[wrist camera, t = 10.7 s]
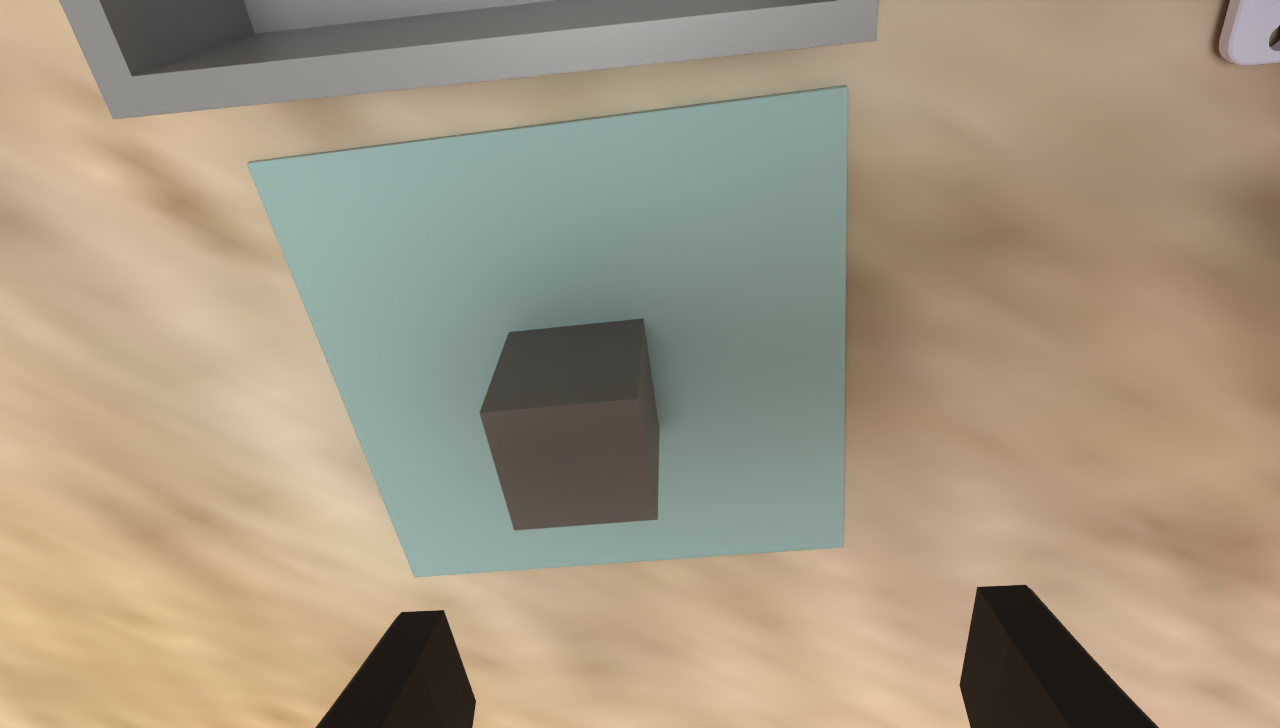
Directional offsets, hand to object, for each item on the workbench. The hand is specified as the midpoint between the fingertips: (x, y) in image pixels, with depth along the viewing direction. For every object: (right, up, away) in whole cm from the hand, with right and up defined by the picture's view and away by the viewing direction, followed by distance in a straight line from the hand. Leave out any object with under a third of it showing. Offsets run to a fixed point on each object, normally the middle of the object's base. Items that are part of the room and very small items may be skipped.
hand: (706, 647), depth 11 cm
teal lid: (-2, +4, +11) cm, 11 cm away
